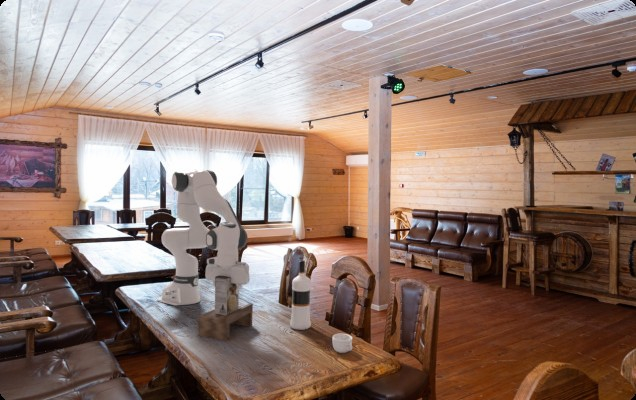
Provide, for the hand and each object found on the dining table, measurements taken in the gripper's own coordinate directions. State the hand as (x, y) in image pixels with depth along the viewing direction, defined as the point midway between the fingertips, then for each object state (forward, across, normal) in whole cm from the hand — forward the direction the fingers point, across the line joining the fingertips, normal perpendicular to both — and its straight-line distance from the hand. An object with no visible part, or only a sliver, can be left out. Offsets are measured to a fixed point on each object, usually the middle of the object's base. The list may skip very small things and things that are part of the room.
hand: (227, 292), depth 181 cm
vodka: (+17, -27, -18) cm, 36 cm away
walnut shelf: (+17, 0, 0) cm, 17 cm away
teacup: (+17, -53, 0) cm, 56 cm away
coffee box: (+9, 0, 0) cm, 9 cm away
